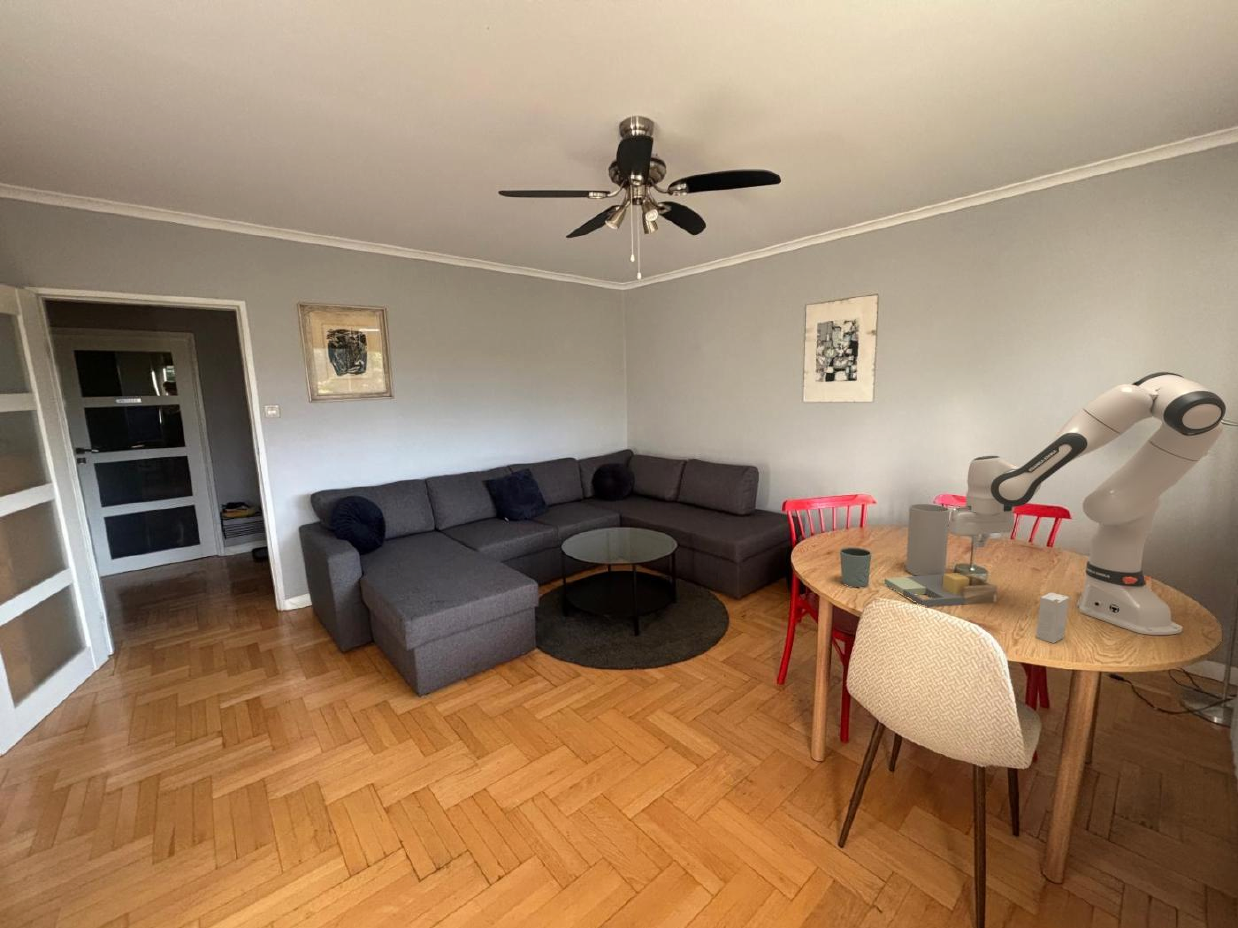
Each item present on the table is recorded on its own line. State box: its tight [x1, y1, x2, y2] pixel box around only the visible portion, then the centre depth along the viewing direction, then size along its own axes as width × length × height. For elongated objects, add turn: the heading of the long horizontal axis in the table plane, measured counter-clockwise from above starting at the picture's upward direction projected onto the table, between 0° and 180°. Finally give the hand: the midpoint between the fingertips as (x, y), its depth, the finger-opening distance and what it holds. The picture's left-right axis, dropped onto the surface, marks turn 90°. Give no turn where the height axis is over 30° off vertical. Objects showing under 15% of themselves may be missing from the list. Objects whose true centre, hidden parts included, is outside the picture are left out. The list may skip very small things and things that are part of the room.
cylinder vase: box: [905, 503, 950, 576], centre depth 183 cm, size 12×12×25 cm
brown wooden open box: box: [942, 573, 998, 605], centre depth 163 cm, size 10×11×5 cm
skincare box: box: [1035, 592, 1070, 644], centre depth 135 cm, size 6×4×12 cm
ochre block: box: [943, 572, 969, 594], centre depth 163 cm, size 5×5×5 cm
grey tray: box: [884, 574, 997, 608], centre depth 167 cm, size 19×26×2 cm
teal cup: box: [839, 546, 872, 588], centre depth 177 cm, size 10×10×12 cm
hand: (978, 546), depth 162 cm, fingers closed
